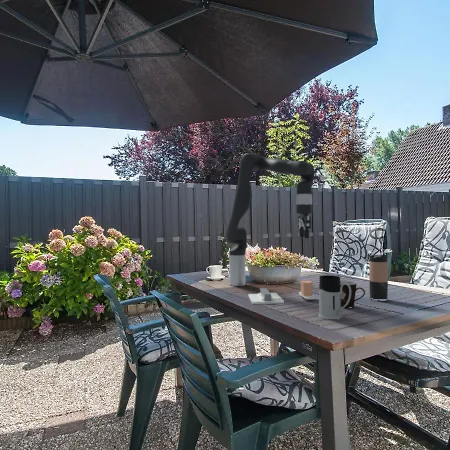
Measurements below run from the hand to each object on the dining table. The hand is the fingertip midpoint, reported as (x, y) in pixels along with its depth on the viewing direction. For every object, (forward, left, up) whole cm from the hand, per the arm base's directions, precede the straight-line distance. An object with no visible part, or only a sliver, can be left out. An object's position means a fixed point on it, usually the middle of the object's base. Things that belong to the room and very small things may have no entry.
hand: (304, 237), depth 161 cm
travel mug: (+10, +31, -29) cm, 43 cm away
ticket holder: (+5, -20, -28) cm, 35 cm away
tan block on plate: (+5, 0, -27) cm, 28 cm away
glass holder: (+37, +1, -29) cm, 47 cm away
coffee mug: (+22, +12, -29) cm, 38 cm away
